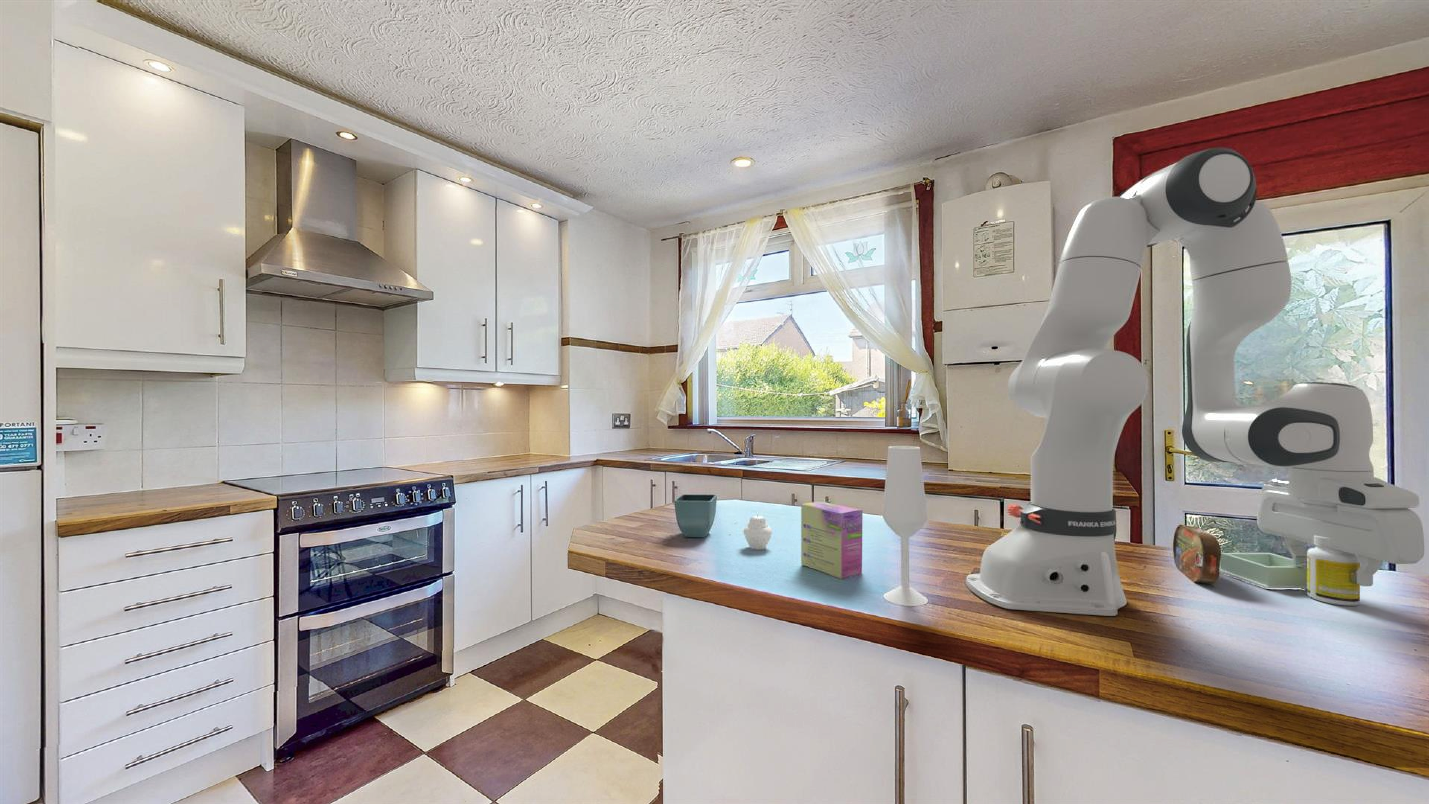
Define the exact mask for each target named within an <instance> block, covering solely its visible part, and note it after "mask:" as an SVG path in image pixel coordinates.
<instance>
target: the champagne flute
mask: <svg viewBox="0 0 1429 804" xmlns="http://www.w3.org/2000/svg"><path fill="white" fill-rule="evenodd" d="M886 459H887V460H886V471H885V482H884V492H883V493H884V494H883V496H884V497H883V503H882V504H883V507H882V517H883V520H884V522H885V523H886V525H887V526H888V527H889V528H890V529H891V530H892V531H893V533H894V534H896V535H897V536H898V537H900V558H901V559H900V562H901V563H900V565H901V566H900V567H901V568H900V570H901V571H900V573H901V574H900V575H901V578H900V580H901V582H900V583H901V584H900V586H898V587H896V588H894V589H891V590H890V591H888V592H886V593H884V594H883V598H884V600H886V601H887V602H888V603H891V604H894V605H898V606H903V607H904V606H905V607H919V606H923V605H926V604H927V603H928V602H929V600H928V598H927V597H926V596H924V595H923V594H921V593H920V592H918V591H917V590H916V589H914V588H912V587H911V586H910V543H909V541H910V538H911V537H912V536H914V535H916V534H917V533H918V532H919V531H920V530H921V529H922V528H924V527H923V526H924V525H926V522H927V520H928V510H927V504H926V503H927V500H926V492H925V483H924V482H925V481H924V475H923V474H924V473H923V465H922V456H921V448H920V447H919V446H910V445H894V446H893V445H892V446H891V445H890V446H888V449H887V457H886Z"/></svg>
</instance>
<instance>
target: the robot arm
mask: <svg viewBox="0 0 1429 804" xmlns="http://www.w3.org/2000/svg"><path fill="white" fill-rule="evenodd" d="M1255 176H1256V175H1255V173H1254V170H1253V168H1252V166H1251V164H1250V163H1249V161H1248V160H1247V159H1246V158H1245V157H1244V156H1243V155H1242V154H1240V153H1239V152H1237V151H1236V150H1234V149H1231V148H1228V147H1214V148H1208V149H1203V150H1200V151H1197V152H1193V153H1192V154H1189V155H1187V156H1184V157H1183V158H1181V159H1180V160H1178V161H1177V162H1175V163H1173V164H1170V165H1168V166H1166V167H1164V168H1161V169H1160V170H1159V169H1158V170H1157V171H1154V172H1152V173H1151V174H1149V175H1147V176H1146V177H1144V178H1143V179H1141V180H1139V181H1138V182H1136V183H1135V184H1134V185H1132V186H1131V187H1129V188H1127V189H1125V190H1123V191H1122V192H1121V193H1119V194H1118V195H1117V196H1107V197H1103V198H1099V199H1095V200H1093V201H1092V202H1090V203H1089V204H1087V205H1085V206H1084V207H1083V208H1082V209H1081V210H1080V211H1079V213H1078V215H1077V216H1076V218H1075V220H1074V222H1073V225H1072V226H1071V229H1070V231H1069V233H1068V235H1067V239H1066V240H1065V243H1064V247H1063V250H1062V252H1061V256H1060V260H1059V264H1058V266H1057V267H1058V268H1057V271H1056V275H1055V279H1054V282H1053V283H1054V284H1053V286H1052V287H1053V288H1052V291H1051V294H1050V298H1049V301H1048V302H1049V303H1048V306H1047V309H1046V311H1045V314H1044V316H1043V319H1042V321H1041V323H1040V326H1039V328H1038V330H1037V332H1036V333H1035V336H1034V337H1033V339H1032V341H1031V344H1030V345H1029V348H1028V350H1027V352H1026V354H1025V355H1024V357H1023V359H1022V360H1021V362H1020V363H1019V364H1018V366H1017V367H1016V368H1015V369H1014V370H1013V372H1012V373H1010V377H1009V379H1008V382H1007V392H1008V395H1009V398H1010V400H1011V401H1012V403H1013V404H1014V405H1015V406H1016V407H1017V408H1018V409H1020V410H1022V411H1024V412H1026V413H1027V414H1029V415H1032V416H1034V417H1038V418H1043V419H1046V421H1045V426H1044V429H1043V433H1042V436H1041V440H1040V442H1039V444H1038V446H1037V447H1036V448H1035V449H1034V451H1033V452H1032V453H1031V455H1030V462H1029V463H1030V464H1029V465H1030V467H1029V468H1030V501H1029V502H1028V503H1027V504H1026V506H1025V507H1024V508H1023V507H1022V506H1020V505H1018V504H1014V503H1010V504H1008V506H1007V507H1006V513H1007V514H1008V515H1009V516H1011V517H1014V518H1020V520H1019V524H1020V525H1018V526H1017V527H1015V528H1014V529H1013V530H1011V531H1010V532H1008V533H1006V534H1005V535H1004V536H1002V537H1001V538H999V539H998V540H996V541H995V542H993V543H992V544H990V545H988V546H987V547H986V548H985V549H984V551H983V554H982V557H981V561H980V570H979V573H971V574H968V575H967V576H966V578H965V579H966V580H965V584H966V586H967V588H968V589H969V590H970V591H971V592H972V593H974V594H975V595H976V596H978V597H980V598H981V599H982V600H984V601H986V602H988V603H990V604H993V605H996V606H998V607H1000V608H1004V609H1007V610H1016V611H1017V610H1020V611H1031V612H1035V611H1036V612H1046V613H1047V612H1048V613H1060V614H1061V613H1065V614H1076V615H1088V616H1089V615H1092V616H1093V615H1094V616H1106V617H1107V616H1108V617H1115V616H1117V615H1118V613H1119V612H1118V609H1119V610H1120V608H1123V607H1124V606H1126V605H1127V601H1128V600H1127V598H1126V595H1125V591H1124V589H1123V586H1122V582H1121V578H1120V574H1119V568H1118V563H1117V556H1116V547H1115V541H1116V537H1117V511H1116V509H1114V508H1113V503H1114V502H1113V498H1114V497H1113V493H1114V492H1113V491H1114V489H1113V487H1114V486H1113V485H1114V484H1113V481H1114V459H1115V455H1116V450H1117V446H1118V443H1119V439H1120V436H1121V434H1122V432H1123V429H1124V426H1125V424H1126V422H1127V420H1128V418H1129V417H1130V416H1131V414H1132V413H1134V412H1135V411H1136V410H1137V409H1138V408H1139V407H1140V406H1141V405H1142V404H1143V402H1144V400H1145V399H1146V396H1147V394H1148V391H1149V378H1148V374H1147V371H1146V369H1145V367H1144V365H1143V364H1142V363H1141V362H1140V361H1139V360H1138V359H1137V358H1136V357H1134V356H1133V355H1131V354H1129V353H1127V352H1124V351H1120V350H1116V349H1115V350H1114V349H1109V348H1106V347H1107V346H1108V345H1109V342H1110V341H1111V340H1112V338H1114V336H1115V335H1116V333H1117V332H1119V331H1120V329H1121V328H1123V326H1124V325H1125V324H1126V323H1127V322H1128V320H1129V318H1130V316H1131V312H1132V309H1133V308H1132V307H1133V304H1134V300H1135V296H1136V294H1137V289H1138V284H1139V280H1140V277H1141V272H1142V268H1143V263H1144V260H1145V253H1146V250H1147V248H1150V247H1153V246H1155V245H1157V244H1160V243H1163V242H1166V241H1167V242H1168V241H1170V240H1173V239H1178V240H1177V241H1178V242H1179V243H1180V244H1181V245H1182V246H1183V247H1184V249H1185V250H1186V252H1187V253H1188V255H1189V271H1190V277H1191V284H1192V294H1193V308H1192V315H1191V316H1192V317H1191V320H1190V322H1189V324H1188V328H1187V331H1186V332H1187V333H1186V348H1185V349H1186V350H1185V351H1186V352H1185V353H1186V378H1187V379H1186V382H1187V403H1186V404H1187V406H1186V410H1185V412H1184V413H1185V414H1184V416H1183V422H1182V425H1181V426H1182V427H1181V435H1182V439H1183V442H1184V445H1185V446H1186V448H1187V449H1188V451H1190V453H1192V454H1193V455H1194V456H1196V457H1198V458H1199V459H1200V460H1203V461H1207V462H1211V463H1233V464H1234V463H1236V464H1243V465H1244V464H1245V465H1251V466H1264V467H1270V468H1271V467H1272V468H1285V467H1287V471H1288V473H1287V475H1288V477H1287V479H1288V480H1282V479H1279V478H1278V479H1277V478H1272V479H1270V480H1269V481H1266V482H1265V483H1264V484H1262V487H1261V496H1260V497H1259V502H1258V507H1257V508H1258V509H1257V514H1256V515H1257V516H1256V523H1257V527H1258V528H1259V530H1260V531H1261V532H1262V533H1266V534H1271V535H1275V536H1279V537H1283V538H1284V539H1283V541H1284V542H1283V543H1284V545H1285V547H1286V549H1287V550H1288V552H1289V554H1290V555H1291V557H1292V558H1291V559H1292V564H1293V566H1295V567H1299V568H1303V569H1307V552H1306V550H1305V548H1304V546H1306V545H1307V544H1312V545H1315V544H1314V535H1316V536H1320V537H1325V538H1329V539H1331V545H1332V549H1335V550H1339V551H1343V552H1347V553H1352V554H1356V555H1357V562H1359V563H1360V567H1359V568H1358V570H1357V571H1350V577H1351V578H1350V582H1351V583H1354V584H1357V585H1360V587H1372V586H1373V585H1374V575H1375V574H1376V573H1377V572H1378V571H1379V569H1381V567H1382V566H1384V565H1383V564H1384V562H1385V563H1388V564H1389V563H1390V564H1393V565H1395V564H1396V565H1413V564H1417V563H1418V562H1420V561H1421V560H1423V558H1424V555H1425V536H1424V535H1425V534H1424V528H1423V524H1422V523H1423V522H1422V520H1421V518H1420V517H1419V515H1418V514H1417V513H1416V512H1415V511H1414V510H1412V509H1415V508H1418V507H1419V505H1420V498H1419V496H1418V494H1417V493H1415V492H1413V491H1411V490H1408V489H1405V488H1403V487H1400V486H1397V485H1395V484H1391V483H1390V482H1388V481H1385V480H1383V479H1380V478H1378V477H1375V475H1374V474H1375V473H1374V471H1375V469H1374V465H1373V463H1372V461H1371V458H1370V451H1371V447H1372V445H1373V442H1374V428H1373V427H1374V425H1373V424H1374V423H1373V414H1372V409H1371V405H1370V402H1369V399H1368V396H1367V394H1366V392H1365V391H1364V390H1362V389H1361V388H1359V387H1357V386H1354V385H1351V384H1346V383H1338V382H1323V381H1310V382H1309V381H1308V382H1307V381H1305V382H1301V383H1296V384H1294V385H1293V386H1292V388H1291V389H1290V390H1289V391H1287V392H1286V393H1284V394H1282V395H1280V396H1277V397H1275V398H1273V399H1271V400H1268V401H1264V402H1261V404H1252V405H1251V404H1250V405H1247V404H1240V403H1239V402H1238V401H1237V398H1236V390H1235V389H1236V386H1235V385H1236V384H1235V383H1236V381H1235V380H1236V379H1235V355H1236V352H1237V349H1238V348H1239V346H1240V344H1241V343H1242V342H1243V340H1245V339H1246V338H1247V337H1248V336H1249V335H1251V334H1252V333H1253V332H1255V331H1256V330H1258V329H1260V328H1261V327H1262V326H1265V325H1266V324H1267V323H1269V322H1271V321H1273V319H1274V318H1276V317H1277V316H1278V315H1279V314H1280V313H1281V312H1282V311H1283V310H1284V309H1285V307H1286V306H1287V305H1288V304H1289V301H1290V298H1291V294H1292V284H1293V283H1292V274H1291V269H1290V268H1291V267H1290V264H1289V258H1288V253H1287V249H1286V245H1285V242H1284V239H1283V236H1282V232H1281V230H1280V227H1279V225H1278V222H1277V220H1276V218H1275V215H1274V213H1273V212H1272V210H1271V208H1270V207H1269V205H1267V204H1266V203H1264V202H1263V201H1261V200H1257V197H1258V188H1257V181H1256V177H1255Z"/></svg>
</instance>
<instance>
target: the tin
mask: <svg viewBox="0 0 1429 804" xmlns="http://www.w3.org/2000/svg"><path fill="white" fill-rule="evenodd" d="M1172 552H1173V553H1172V554H1173V561H1174V564H1175V567H1176V568H1177V570H1178V571H1179V572H1181V573H1182V574H1183V575H1184V574H1185V575H1184V576H1186V578H1188V579H1189V580H1190V581H1191V582H1193V583H1202V584H1209V585H1211V584H1215V583H1217V581H1218V580H1219V578H1220V576H1221V575H1220V572H1219V570H1220V558H1221V553H1222V550H1221V545H1220V543H1219V541H1218V539H1217V538H1216V537H1215V536H1214V535H1212V534H1210V533H1208V532H1207V531H1205V530H1203V529H1202V528H1199V527H1197V526H1191V525H1185V524H1183V523H1182V524H1178V525H1177V527H1176V528H1175V530H1174V534H1173V541H1172Z"/></svg>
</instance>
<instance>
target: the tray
mask: <svg viewBox="0 0 1429 804" xmlns="http://www.w3.org/2000/svg"><path fill="white" fill-rule="evenodd" d="M1219 572H1220V573H1221V575H1223V574H1226V575H1229V576H1231V577H1236V578H1238V579H1240V580H1244V581H1247V582H1249V583H1253V584H1255V585H1259V586H1262V587H1264V588H1301V589H1307V569H1303V568H1299V567H1295V566H1293V564H1292V558H1289V557H1286V556H1283V555H1279V554H1276V553H1272V552H1221V558H1220V570H1219ZM1226 575H1225V576H1226ZM1229 576H1228V577H1229ZM1231 577H1230V578H1231ZM1240 580H1239V581H1240Z"/></svg>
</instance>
